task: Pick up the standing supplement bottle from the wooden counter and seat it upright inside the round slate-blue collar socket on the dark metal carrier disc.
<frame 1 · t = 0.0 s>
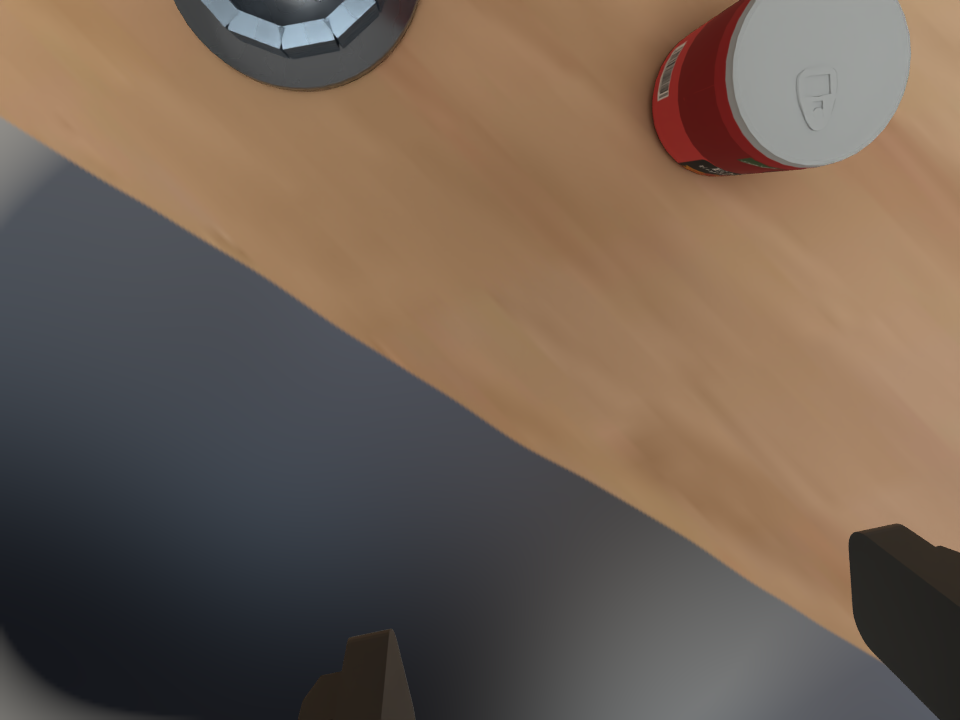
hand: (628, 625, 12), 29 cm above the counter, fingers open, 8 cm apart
canned food: (712, 104, 38), on the counter
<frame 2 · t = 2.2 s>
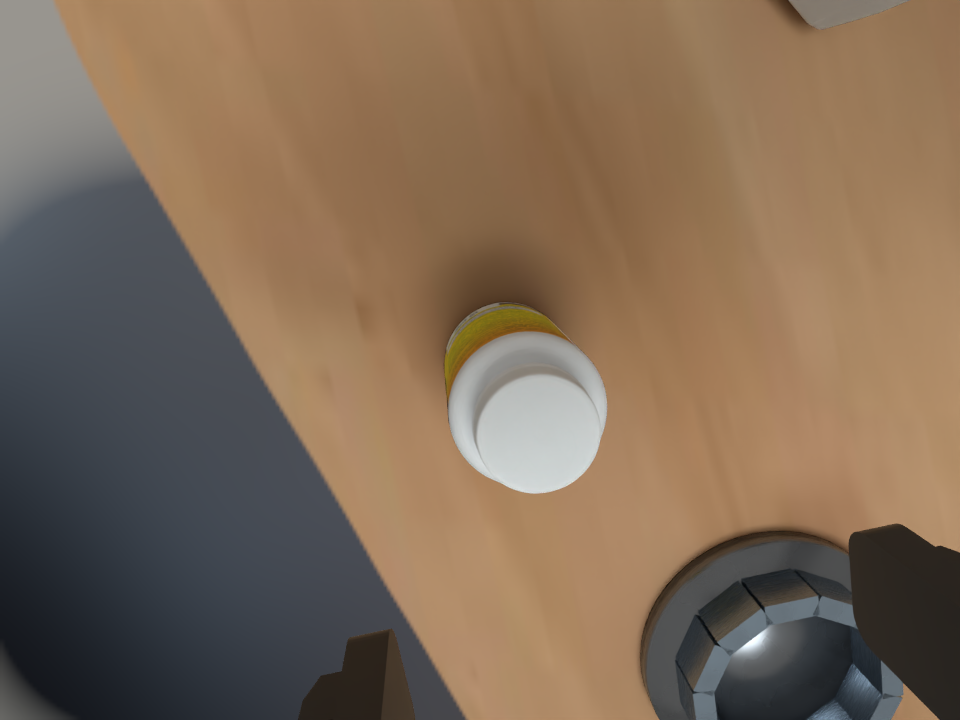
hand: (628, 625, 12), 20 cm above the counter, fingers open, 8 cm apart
supplement bottle: (504, 359, 31), on the counter
carrier: (762, 645, 35), on the counter
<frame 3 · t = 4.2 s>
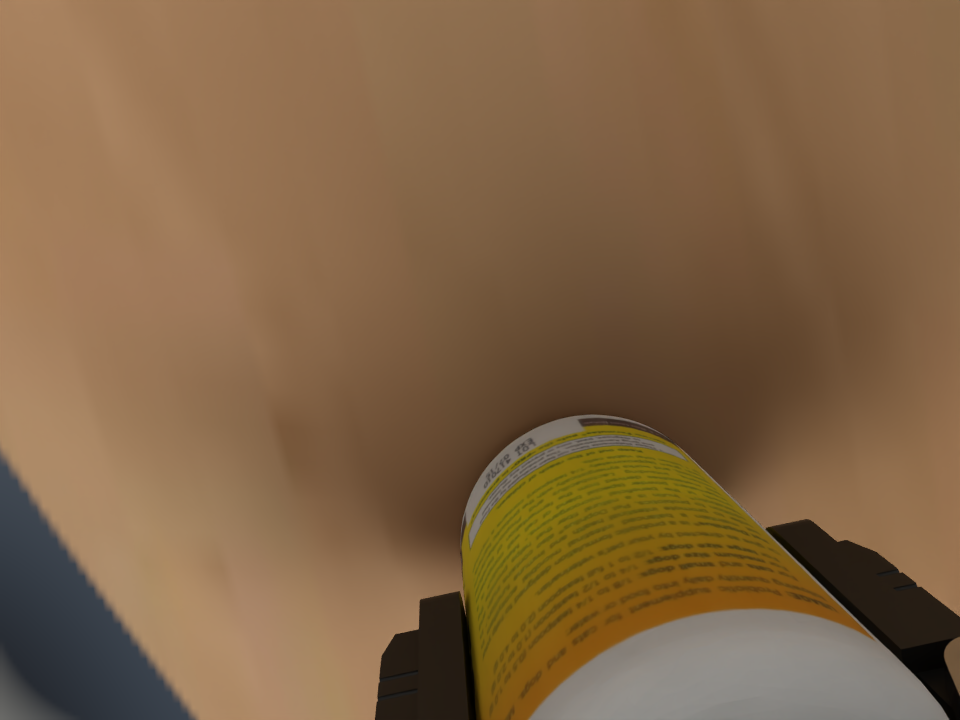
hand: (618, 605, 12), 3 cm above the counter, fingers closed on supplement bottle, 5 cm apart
supplement bottle: (580, 521, 15), on the counter, touching gripper
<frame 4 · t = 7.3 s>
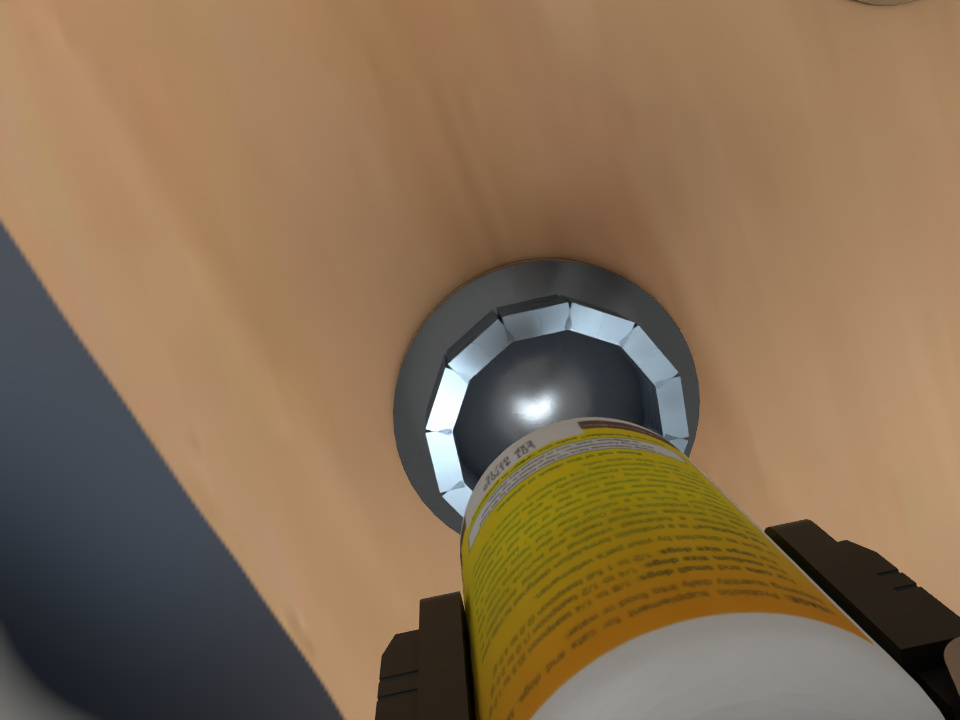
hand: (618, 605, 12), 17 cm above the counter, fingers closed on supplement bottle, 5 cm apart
supplement bottle: (580, 523, 15), point 14 cm above the counter, touching gripper
carrier: (544, 407, 30), on the counter
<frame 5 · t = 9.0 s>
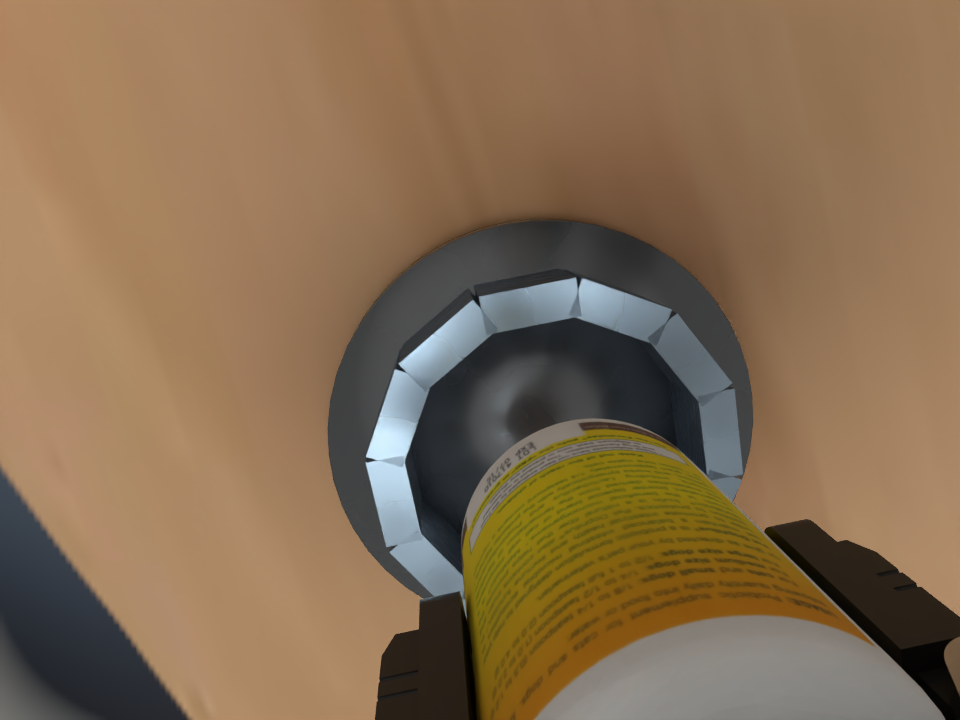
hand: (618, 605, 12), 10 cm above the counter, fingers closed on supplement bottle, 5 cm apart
supplement bottle: (581, 525, 15), point 7 cm above the counter, touching gripper
carrier: (538, 425, 22), on the counter
when the fingers open (6 cm above the counter, at t = 10.3 s): supplement bottle drops 1 cm, resting on carrier.
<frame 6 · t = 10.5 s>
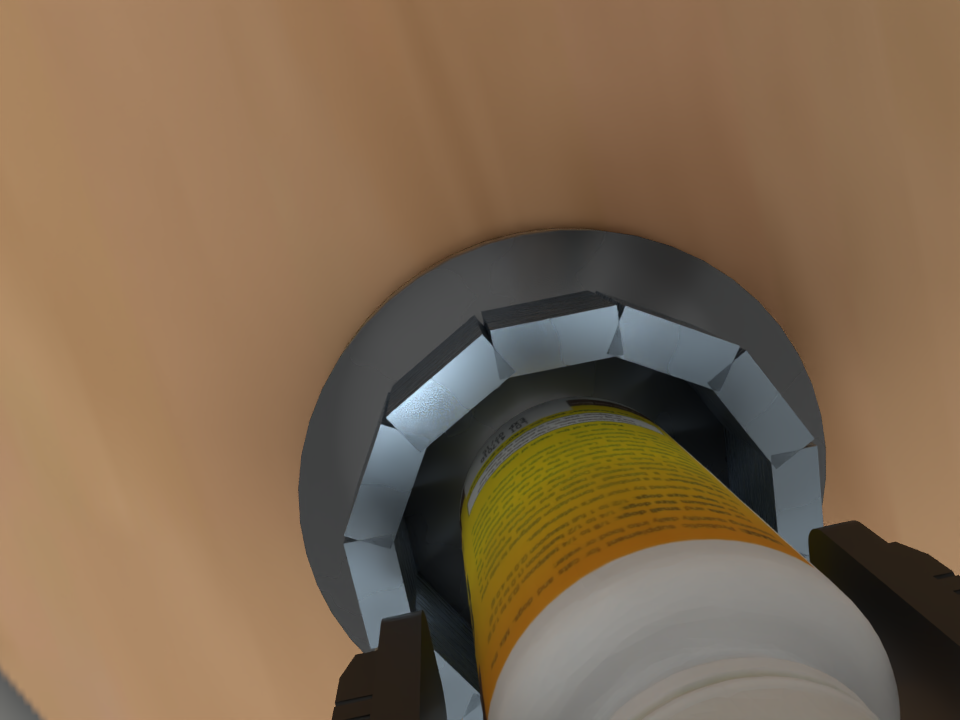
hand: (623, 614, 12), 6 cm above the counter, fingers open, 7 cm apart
supplement bottle: (569, 497, 17), point 1 cm above the counter, touching carrier
carrier: (559, 480, 18), on the counter
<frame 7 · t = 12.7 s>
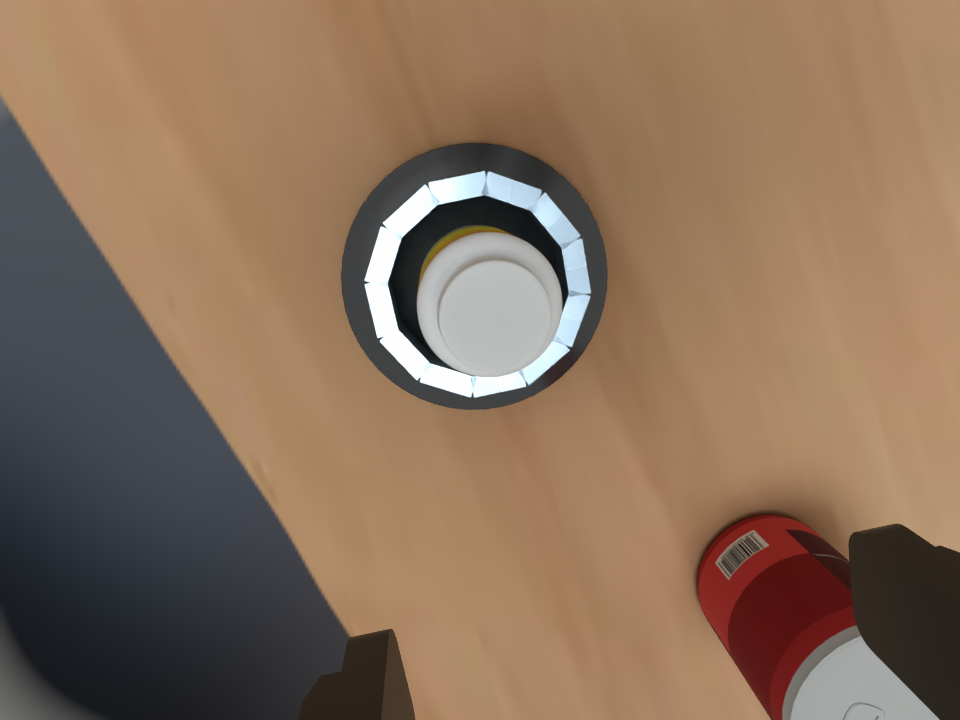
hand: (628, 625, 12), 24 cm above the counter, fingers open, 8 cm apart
supplement bottle: (476, 281, 33), point 1 cm above the counter, touching carrier
canned food: (755, 571, 40), on the counter
carrier: (474, 279, 34), on the counter
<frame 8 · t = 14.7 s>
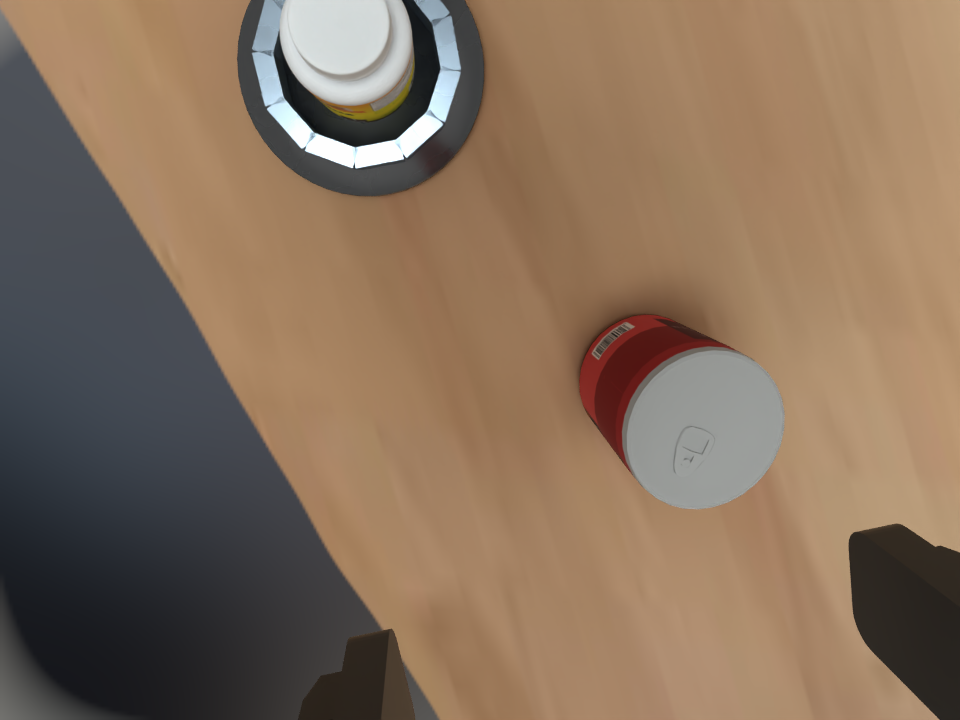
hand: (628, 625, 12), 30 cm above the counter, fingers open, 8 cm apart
supplement bottle: (363, 71, 36), point 1 cm above the counter, touching carrier
canned food: (635, 374, 43), on the counter
carrier: (364, 74, 37), on the counter
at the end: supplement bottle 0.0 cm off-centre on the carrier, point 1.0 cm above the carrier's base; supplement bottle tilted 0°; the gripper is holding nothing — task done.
